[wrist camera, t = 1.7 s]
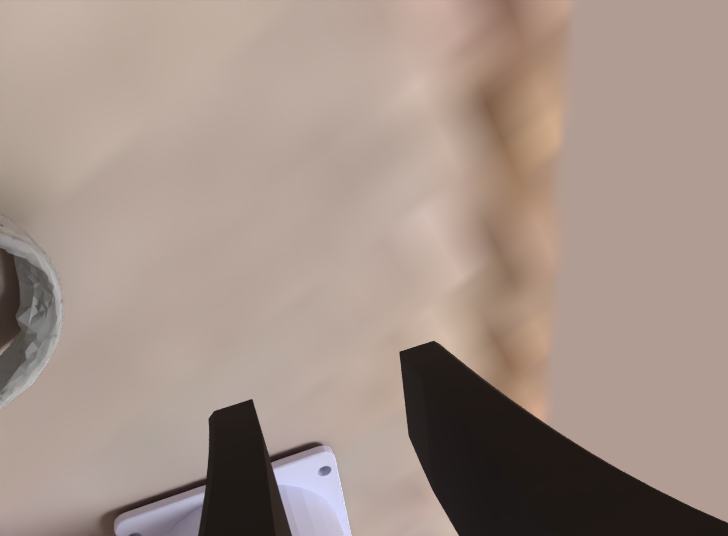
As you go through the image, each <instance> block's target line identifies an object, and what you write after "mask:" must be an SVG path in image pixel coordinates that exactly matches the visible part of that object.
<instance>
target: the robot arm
mask: <svg viewBox="0 0 728 536" xmlns="http://www.w3.org/2000/svg"><path fill="white" fill-rule="evenodd" d="M399 353H400V362H401V371H402V380H403V389H404V398H405V407H406V416H407V425H408V434H409V438H410V440H411V442H412V445H413V447H414V449H415V452H416V454H417V456H418V458H419V461H420V463H421V465H422V468H423V470H424V472H425V474H426V477H427V479H428V481H429V483H430V485H431V488H432V490H433V492H434V493H435V495H436V497H437V499H438V500H439V502H440V504H441V505H442V507H443V509H444V511H445V512H446V514H447V516H448V518H449V519H450V521H451V523H452V524H453V526H454V528H455V530H456V531H457V533H458V535H459V536H728V523H727V522H725V521H722V520H720V519H718V518H715V517H713V516H711V515H708V514H706V513H704V512H702V511H700V510H697V509H695V508H693V507H691V506H689V505H687V504H684V503H682V502H681V501H679V500H677V499H675V498H673V497H671V496H669V495H667V494H665V493H662V492H660V491H659V490H656V489H655V488H653V487H651V486H649V485H647V484H645V483H643V482H641V481H640V480H638V479H636V478H634V477H632V476H630V475H628V474H626V473H625V472H623V471H621V470H619V469H618V468H616V467H614V466H612V465H611V464H609V463H607V462H605V461H604V460H602V459H600V458H599V457H597V456H595V455H594V454H592V453H590V452H589V451H587V450H585V449H584V448H582V447H581V446H579V445H578V444H576V443H574V442H573V441H571V440H570V439H568V438H566V437H565V436H563V435H562V434H560V433H559V432H557V431H556V430H554V429H553V428H551V427H550V426H548V425H547V424H545V423H544V422H542V421H541V420H539V419H538V418H536V417H535V416H534V415H532V414H531V413H529V412H528V411H526V410H525V409H524V408H522V407H521V406H519V405H518V404H516V403H515V402H514V401H512V400H511V399H509V398H508V397H507V396H505V395H504V394H503V393H501V392H500V391H498V390H497V389H496V388H495V387H493V386H492V385H491V384H489V383H488V382H487V381H485V380H484V379H483V378H481V377H480V376H479V375H477V374H476V373H475V372H474V371H472V370H471V369H470V368H469V367H467V366H466V365H465V364H464V363H462V362H461V361H460V360H459V359H457V358H456V357H455V356H454V355H452V354H451V353H450V352H449V351H447V350H446V349H445V348H444V347H443V346H441V345H440V344H438V343H437V342H435V341H432V342H429V343H425V344H422V345H419V346H416V347H413V348H410V349H407V350H404V351H401V352H399ZM324 466H325V467H324ZM322 467H323V468H322ZM114 532H115V535H116V536H352V535H351V531H350V526H349V521H348V516H347V512H346V507H345V502H344V497H343V492H342V488H341V483H340V478H339V473H338V469H337V464H336V459H335V456H334V453H333V451H332V449H331V448H330V447H328V446H318V447H315V448H312V449H309V450H306V451H303V452H300V453H297V454H294V455H291V456H288V457H285V458H283V459H280V460H277V461H274V462H271V461H270V458H269V454H268V451H267V447H266V444H265V441H264V437H263V434H262V430H261V427H260V424H259V420H258V417H257V414H256V410H255V407H254V403H253V400H252V399H251V400H248V401H245V402H242V403H238V404H235V405H232V406H229V407H226V408H223V409H220V410H217V411H214V412H213V414H212V415H211V416H210V418H209V458H208V469H207V478H206V485H204V486H201V487H198V488H195V489H192V490H189V491H186V492H183V493H180V494H177V495H174V496H171V497H169V498H166V499H163V500H160V501H157V502H154V503H151V504H148V505H145V506H142V507H139V508H136V509H134V510H131V511H128V512H125V513H123V514H121V515H119V516H118V517H117V518H116V519H115V521H114ZM132 533H134V534H132Z"/></svg>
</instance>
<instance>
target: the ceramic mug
mask: <svg viewBox="0 0 728 536" xmlns="http://www.w3.org/2000/svg"><path fill="white" fill-rule="evenodd" d="M0 248H2V249H5V250H6V252H7V253H10V254H13V255H14V262H15V267H16V272H17V277H18V281H19V288H20V306H19V309H18V311H17V314H16V316H15V317H16V319H17V322H18V325H19V327H20V328H21V330H20V332H19V334H18V336H17V337H16V338H15V340H14V341H13V342H12V343H11V345H10V346H9V347H8V348H7V349H6V350H5V351H4V352H3V353H2V355H1V356H0V409H1V408H3V407H4V406H6V405H7V404H8V403H9V402H10V401H12V400H13V399H14V398H15V397H17V396H18V395H19V394H20V393H22V392H23V391H24V390H26V389H27V388H28V387H29V386H30V385H31V384H32V383H33V382H34V381H35V380H36V379H37V377H38V376H39V374H40V373H41V372H42V370H43V369H44V367H45V366H46V364H47V363H48V362H49V360H50V358H51V356H52V354H53V352H54V350H55V348H56V346H57V344H58V342H59V338H60V334H61V329H62V324H63V317H64V305H63V297H62V290H61V283H60V278H59V276H58V274H57V271H56V269H55V267H54V265H53V263H52V260H51V258H50V257H49V256H48V255H47V253H46V252H45V251H44V250H43V249H42V248H41V247H40V246H39V245H38V244H37V243H36V242H35V241H34V240H33V239H32V238H31V237H30V236H29V235H28V234H27V233H26V232H25V231H24V230H22V229H21V228H20V227H19V226H18V225H17V224H15V223H14V222H13V221H12V220H10V219H8V218H6V217H4V216H1V215H0Z"/></svg>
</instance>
